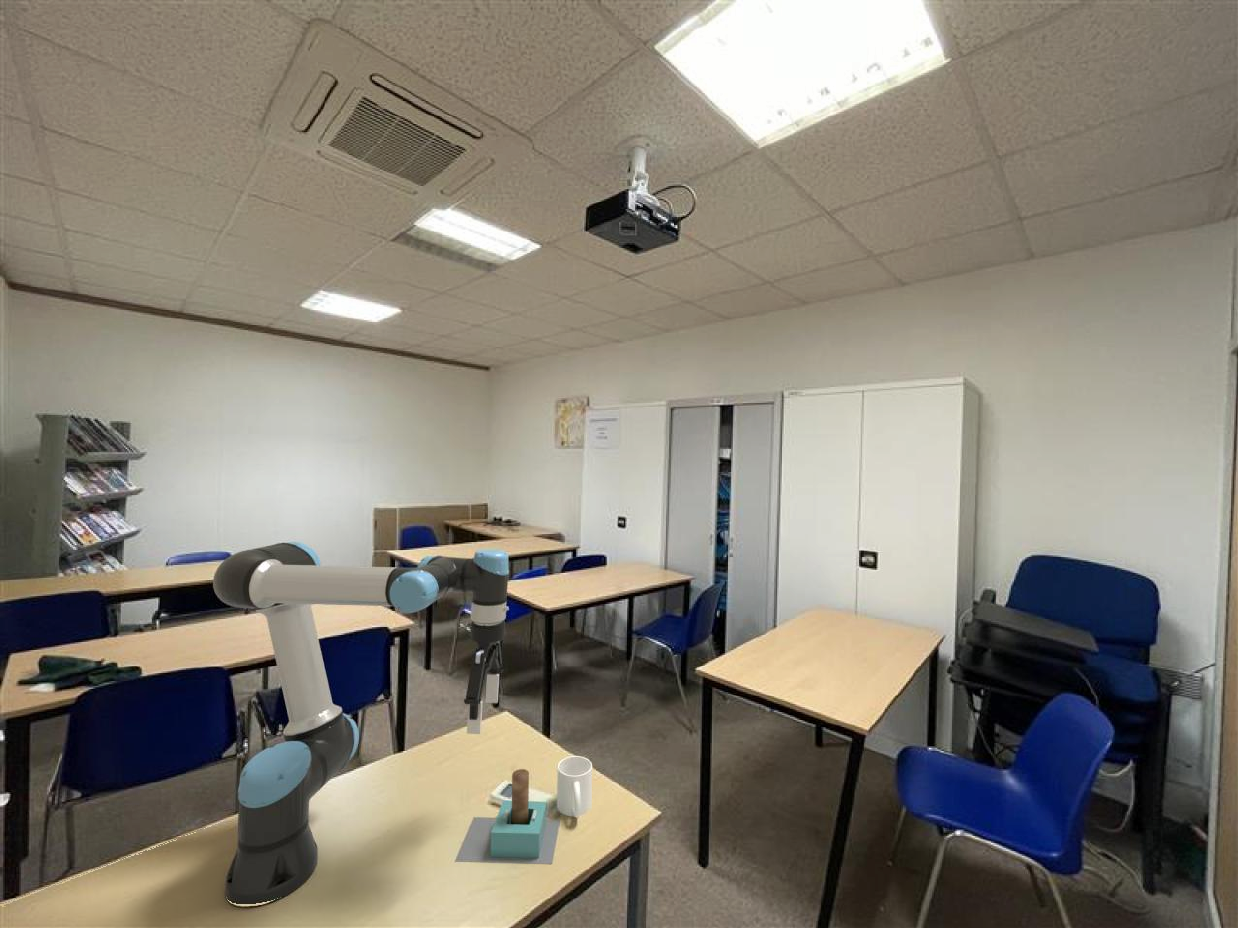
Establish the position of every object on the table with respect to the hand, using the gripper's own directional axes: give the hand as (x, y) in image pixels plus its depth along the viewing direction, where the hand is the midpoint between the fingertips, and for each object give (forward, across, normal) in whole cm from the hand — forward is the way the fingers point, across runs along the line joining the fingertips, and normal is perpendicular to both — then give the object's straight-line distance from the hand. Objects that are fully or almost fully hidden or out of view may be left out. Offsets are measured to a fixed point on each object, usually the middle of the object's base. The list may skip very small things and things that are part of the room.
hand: (483, 716), depth 111 cm
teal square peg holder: (+25, -2, -10) cm, 27 cm away
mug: (+26, +9, -21) cm, 35 cm away
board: (+26, -2, -8) cm, 28 cm away
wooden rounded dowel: (+25, -2, -10) cm, 27 cm away
